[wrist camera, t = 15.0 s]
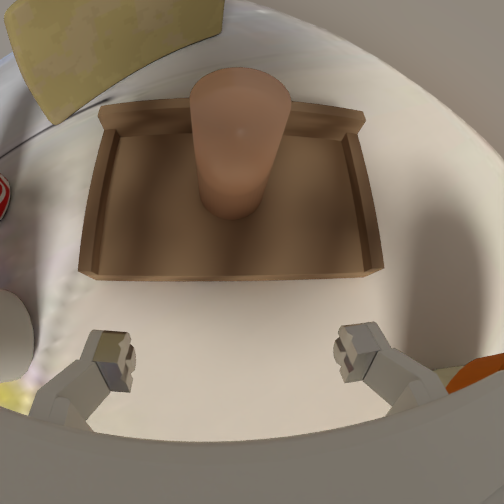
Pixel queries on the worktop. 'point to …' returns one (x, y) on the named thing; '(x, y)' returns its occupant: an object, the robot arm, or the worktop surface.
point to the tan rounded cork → (236, 137)
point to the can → (14, 337)
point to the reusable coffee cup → (470, 372)
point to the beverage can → (4, 195)
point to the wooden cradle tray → (222, 230)
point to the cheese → (98, 43)
